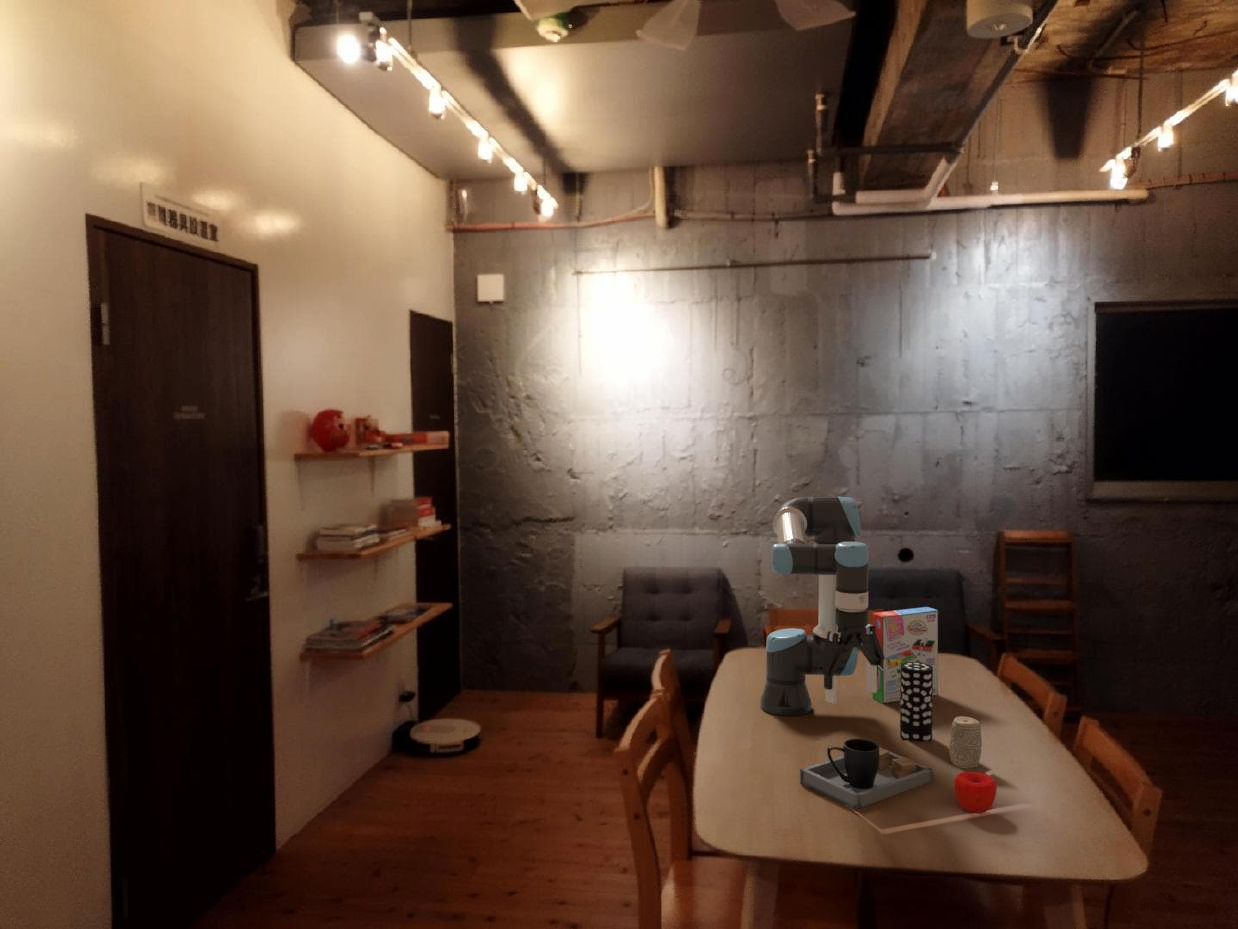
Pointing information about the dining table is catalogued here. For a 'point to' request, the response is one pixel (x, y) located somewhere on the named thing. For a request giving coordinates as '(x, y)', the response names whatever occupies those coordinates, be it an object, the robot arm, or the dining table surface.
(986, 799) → the apple
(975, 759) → the carving
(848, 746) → the mug
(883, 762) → the walnut block
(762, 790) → the dining table surface
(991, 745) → the dining table surface
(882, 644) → the game box
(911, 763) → the walnut block
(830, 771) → the tray
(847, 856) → the dining table surface
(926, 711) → the spotted tube
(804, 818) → the dining table surface
